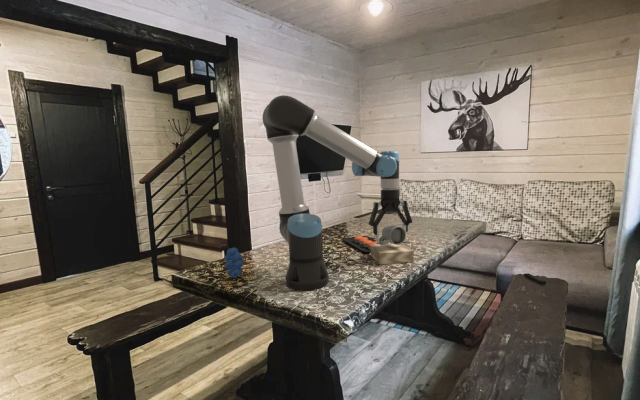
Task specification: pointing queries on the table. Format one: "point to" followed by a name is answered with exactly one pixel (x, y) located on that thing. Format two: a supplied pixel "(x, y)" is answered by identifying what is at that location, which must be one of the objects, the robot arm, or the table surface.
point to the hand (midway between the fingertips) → (390, 241)
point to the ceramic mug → (392, 235)
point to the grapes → (234, 262)
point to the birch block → (391, 253)
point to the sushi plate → (362, 242)
